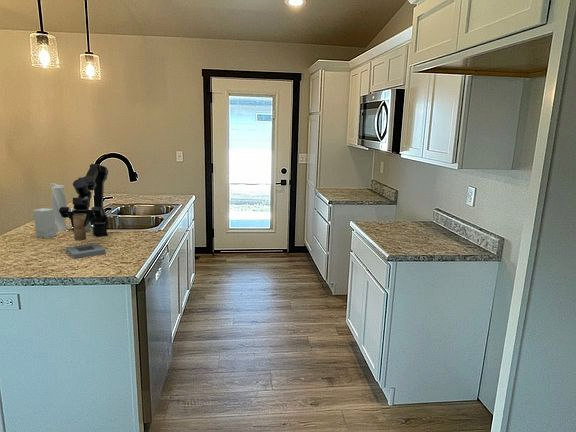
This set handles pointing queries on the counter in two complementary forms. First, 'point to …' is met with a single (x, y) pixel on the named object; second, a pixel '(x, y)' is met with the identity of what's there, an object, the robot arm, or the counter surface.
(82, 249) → the frame
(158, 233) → the counter surface
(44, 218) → the skincare box
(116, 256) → the counter surface
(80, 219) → the walnut peg
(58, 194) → the skyscraper
